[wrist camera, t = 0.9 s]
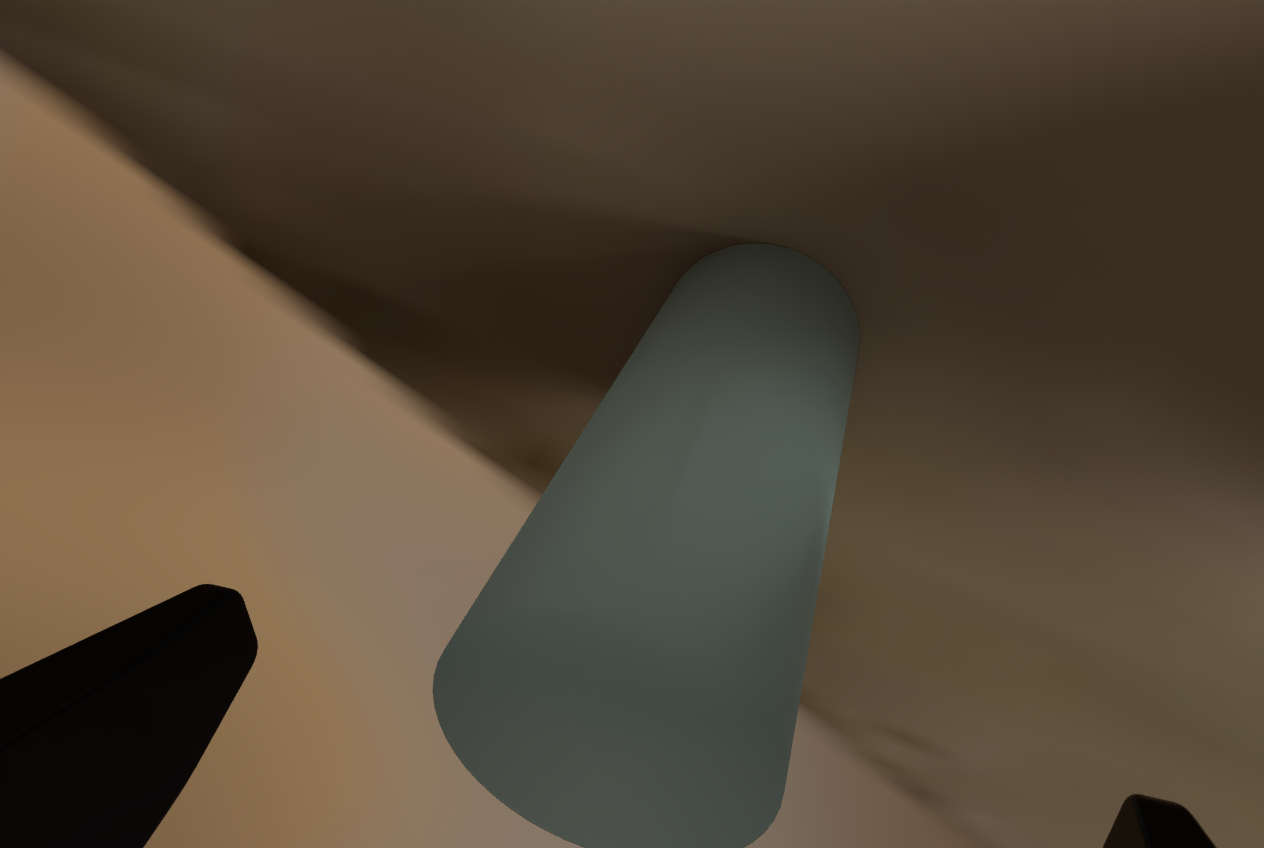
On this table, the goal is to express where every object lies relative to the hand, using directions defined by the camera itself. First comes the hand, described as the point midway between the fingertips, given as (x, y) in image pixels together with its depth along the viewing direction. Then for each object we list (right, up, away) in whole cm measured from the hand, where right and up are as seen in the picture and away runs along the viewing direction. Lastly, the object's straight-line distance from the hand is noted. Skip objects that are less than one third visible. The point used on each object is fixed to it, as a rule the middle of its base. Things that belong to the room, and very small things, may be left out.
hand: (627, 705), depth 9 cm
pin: (+2, +4, +7) cm, 9 cm away
